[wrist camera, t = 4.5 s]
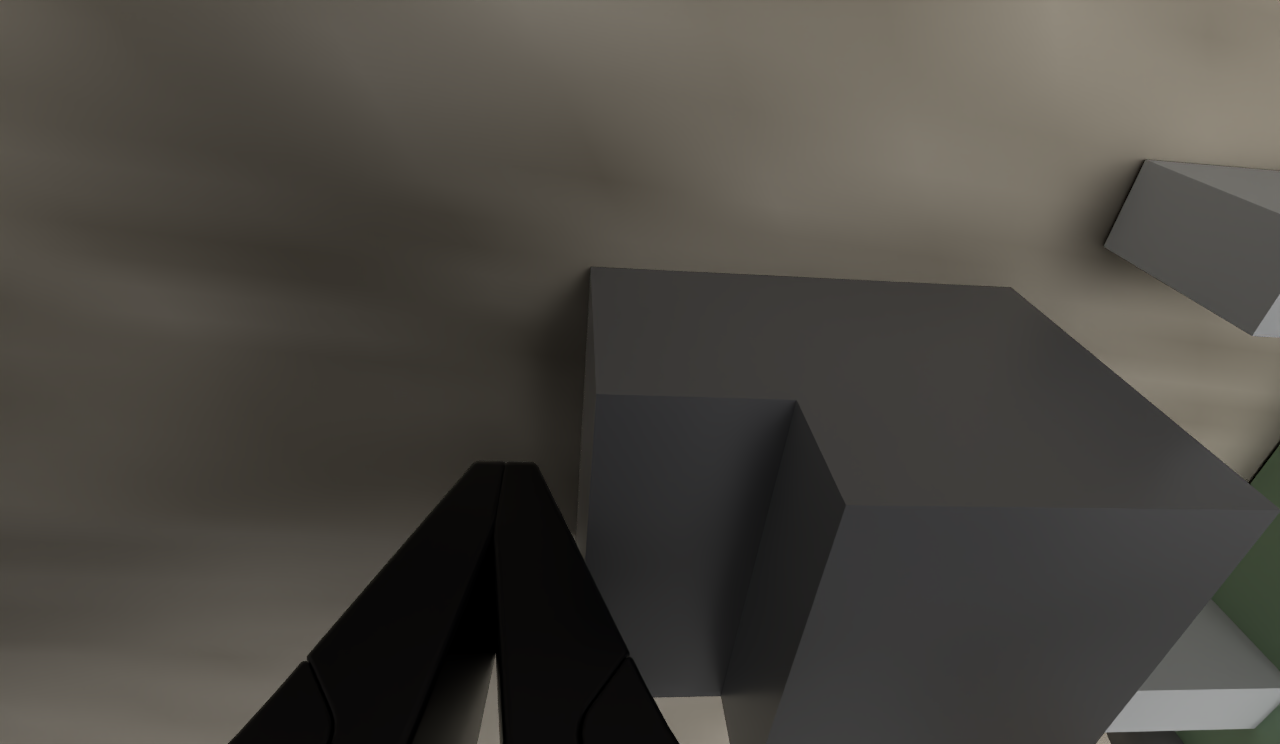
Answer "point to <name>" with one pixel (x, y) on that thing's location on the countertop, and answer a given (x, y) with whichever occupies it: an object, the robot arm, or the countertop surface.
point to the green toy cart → (1276, 564)
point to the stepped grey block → (887, 509)
